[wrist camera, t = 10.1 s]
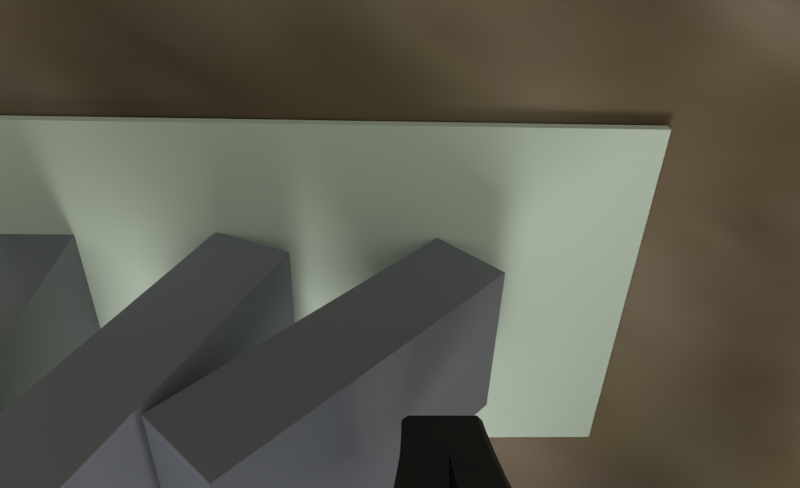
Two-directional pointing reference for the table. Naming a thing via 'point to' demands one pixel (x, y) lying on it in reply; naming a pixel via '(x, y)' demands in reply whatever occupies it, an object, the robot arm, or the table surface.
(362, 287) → the tile
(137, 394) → the tile
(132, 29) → the table surface
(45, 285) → the tile
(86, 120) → the felt strip
